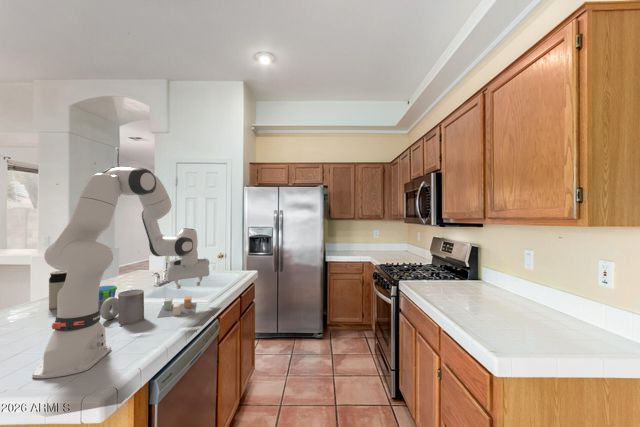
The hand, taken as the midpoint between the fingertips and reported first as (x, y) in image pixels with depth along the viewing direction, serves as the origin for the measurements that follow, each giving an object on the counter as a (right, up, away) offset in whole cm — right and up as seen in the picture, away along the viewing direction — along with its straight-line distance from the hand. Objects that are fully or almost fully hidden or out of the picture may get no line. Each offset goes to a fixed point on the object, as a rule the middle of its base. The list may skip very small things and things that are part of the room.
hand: (188, 287), depth 157 cm
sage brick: (-9, -9, -3) cm, 13 cm away
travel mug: (-67, -11, +1) cm, 68 cm away
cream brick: (0, -10, -12) cm, 15 cm away
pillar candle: (-16, -11, -22) cm, 29 cm away
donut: (-28, -11, -17) cm, 35 cm away
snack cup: (-43, -11, 0) cm, 44 cm away
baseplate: (-2, -11, -6) cm, 13 cm away
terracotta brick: (0, -9, 0) cm, 9 cm away
